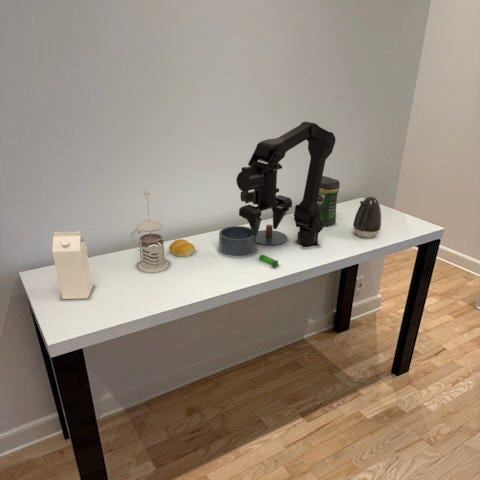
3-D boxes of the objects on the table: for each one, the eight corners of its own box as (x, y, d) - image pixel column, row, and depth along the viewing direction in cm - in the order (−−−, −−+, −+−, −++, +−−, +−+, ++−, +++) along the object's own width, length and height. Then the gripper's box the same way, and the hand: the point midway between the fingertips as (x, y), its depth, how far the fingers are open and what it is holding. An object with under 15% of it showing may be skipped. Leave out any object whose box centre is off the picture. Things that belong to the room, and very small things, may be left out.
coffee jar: (338, 224, 180) (344, 179, 171) (324, 228, 176) (329, 182, 167) (321, 217, 187) (326, 173, 178) (307, 220, 183) (311, 176, 174)
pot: (248, 240, 164) (248, 224, 161) (260, 254, 154) (261, 237, 151) (215, 245, 161) (214, 228, 158) (225, 259, 150) (225, 241, 147)
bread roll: (180, 259, 150) (179, 248, 148) (166, 251, 156) (165, 240, 154) (200, 253, 154) (199, 242, 152) (185, 244, 160) (185, 234, 158)
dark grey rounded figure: (345, 233, 172) (351, 195, 164) (365, 228, 177) (371, 191, 169) (364, 242, 164) (371, 203, 157) (384, 237, 169) (392, 198, 161)
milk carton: (68, 287, 132) (56, 227, 123) (93, 286, 133) (82, 227, 123) (62, 299, 126) (49, 237, 117) (88, 298, 127) (77, 237, 117)
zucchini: (257, 260, 150) (257, 254, 149) (262, 258, 151) (262, 253, 150) (275, 268, 145) (275, 262, 144) (280, 266, 146) (280, 260, 145)
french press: (160, 274, 140) (153, 197, 128) (127, 268, 143) (118, 193, 131) (173, 261, 149) (168, 187, 136) (142, 256, 151) (134, 184, 139)
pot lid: (278, 231, 173) (279, 217, 170) (293, 244, 162) (294, 230, 159) (245, 235, 169) (245, 221, 166) (258, 249, 158) (258, 234, 155)
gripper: (268, 174, 147) (266, 219, 154) (226, 185, 135) (227, 232, 143) (294, 181, 140) (291, 227, 147) (252, 193, 128) (251, 243, 136)
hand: (265, 232), depth 144 cm, fingers open, 9 cm apart
